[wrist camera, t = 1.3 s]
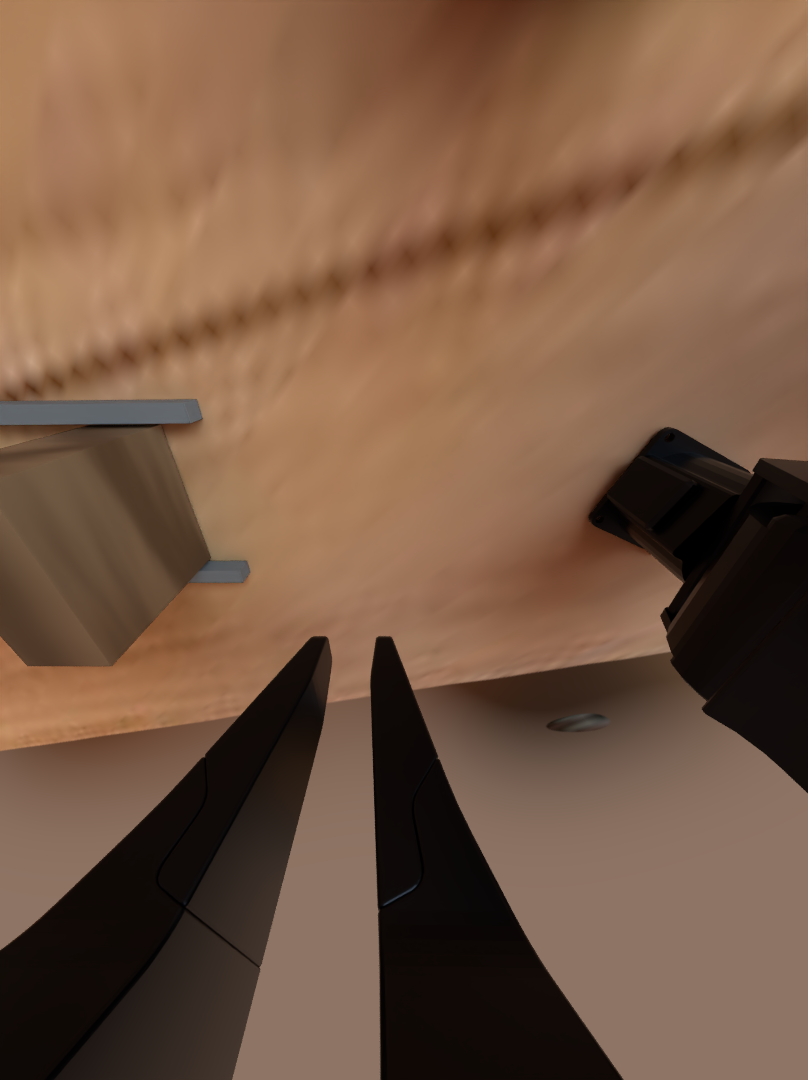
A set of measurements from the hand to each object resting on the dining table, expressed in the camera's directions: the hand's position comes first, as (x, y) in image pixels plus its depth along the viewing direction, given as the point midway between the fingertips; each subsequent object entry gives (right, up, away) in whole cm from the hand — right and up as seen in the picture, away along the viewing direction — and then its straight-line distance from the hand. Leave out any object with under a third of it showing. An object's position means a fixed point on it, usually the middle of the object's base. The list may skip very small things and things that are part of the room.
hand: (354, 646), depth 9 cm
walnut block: (-14, +5, +12) cm, 19 cm away
